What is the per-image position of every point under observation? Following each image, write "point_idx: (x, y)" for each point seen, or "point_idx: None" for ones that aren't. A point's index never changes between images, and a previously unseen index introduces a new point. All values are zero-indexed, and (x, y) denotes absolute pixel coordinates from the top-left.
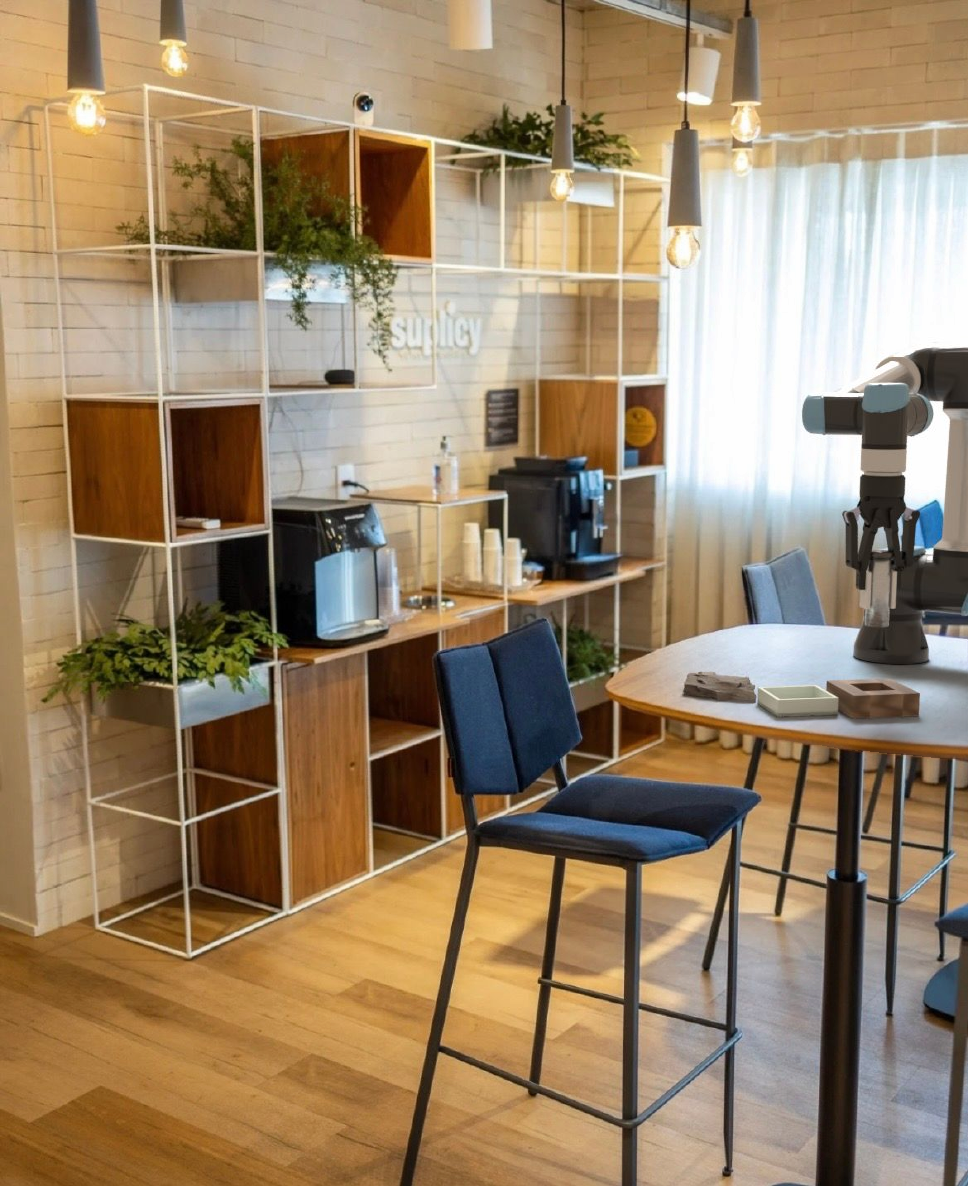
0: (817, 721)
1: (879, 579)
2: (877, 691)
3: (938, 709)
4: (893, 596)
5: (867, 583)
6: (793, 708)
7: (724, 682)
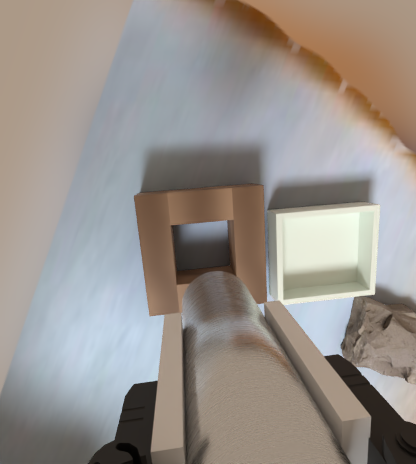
0: (313, 170)
1: (276, 374)
2: (208, 215)
3: (91, 234)
4: (173, 340)
5: (327, 365)
6: (344, 205)
7: (408, 330)
